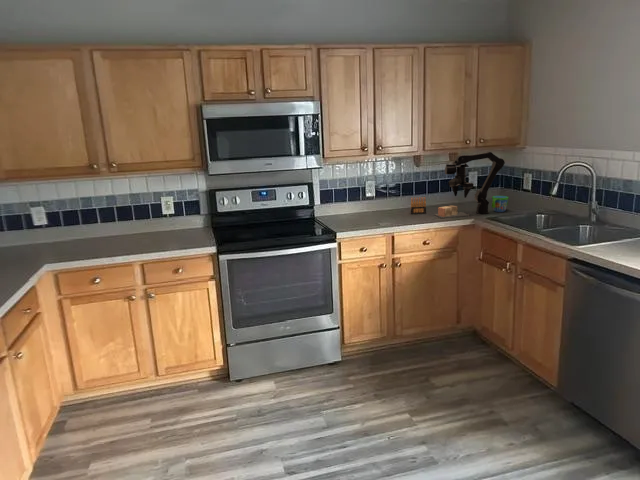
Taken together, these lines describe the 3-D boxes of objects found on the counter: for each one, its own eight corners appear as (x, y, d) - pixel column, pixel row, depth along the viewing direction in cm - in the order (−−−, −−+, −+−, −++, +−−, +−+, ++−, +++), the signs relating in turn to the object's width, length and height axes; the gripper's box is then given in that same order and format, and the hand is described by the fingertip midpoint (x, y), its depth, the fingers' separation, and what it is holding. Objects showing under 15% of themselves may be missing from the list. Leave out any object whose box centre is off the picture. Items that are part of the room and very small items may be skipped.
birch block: (451, 205, 348) (438, 207, 342) (457, 206, 343) (443, 208, 338) (451, 213, 349) (438, 215, 344) (457, 214, 344) (443, 216, 339)
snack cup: (501, 208, 361) (502, 194, 359) (513, 210, 352) (514, 196, 350) (485, 211, 354) (486, 197, 351) (497, 213, 345) (498, 198, 342)
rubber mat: (461, 213, 353) (461, 211, 352) (469, 215, 342) (469, 214, 342) (434, 215, 349) (434, 214, 349) (441, 218, 338) (441, 217, 338)
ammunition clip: (410, 214, 356) (410, 197, 353) (410, 213, 358) (410, 197, 355) (426, 213, 356) (426, 196, 353) (425, 213, 357) (425, 196, 354)
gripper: (442, 173, 347) (441, 196, 350) (461, 176, 330) (461, 199, 334) (454, 172, 352) (454, 194, 355) (474, 174, 335) (473, 198, 339)
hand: (460, 196), depth 346 cm, fingers open, 9 cm apart
